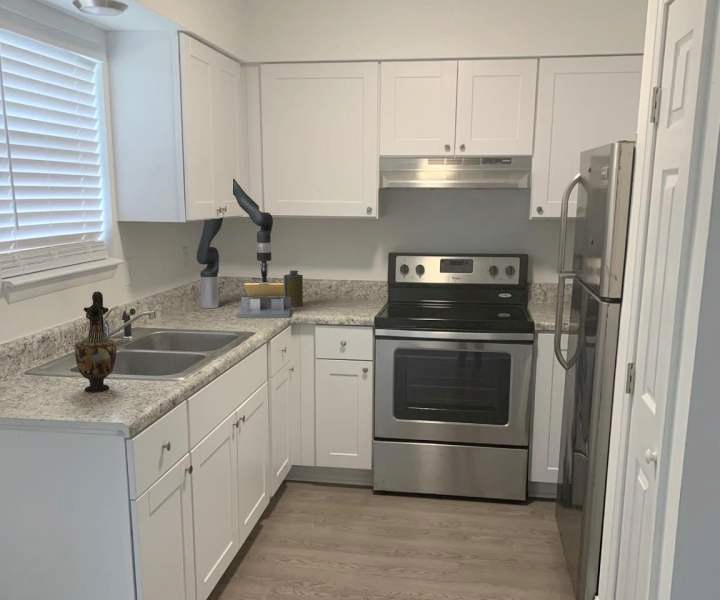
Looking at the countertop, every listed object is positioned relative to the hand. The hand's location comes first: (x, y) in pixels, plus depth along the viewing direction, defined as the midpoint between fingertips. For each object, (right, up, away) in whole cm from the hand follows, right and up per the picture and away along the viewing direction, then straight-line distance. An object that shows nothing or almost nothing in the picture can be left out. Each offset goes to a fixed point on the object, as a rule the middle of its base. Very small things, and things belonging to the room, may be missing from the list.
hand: (264, 284), depth 315 cm
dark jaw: (+6, -13, +4) cm, 15 cm away
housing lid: (0, -3, +3) cm, 4 cm away
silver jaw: (-5, -13, +4) cm, 15 cm away
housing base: (0, -15, +1) cm, 16 cm away
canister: (+12, -11, +29) cm, 33 cm away
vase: (-32, -36, -127) cm, 136 cm away
